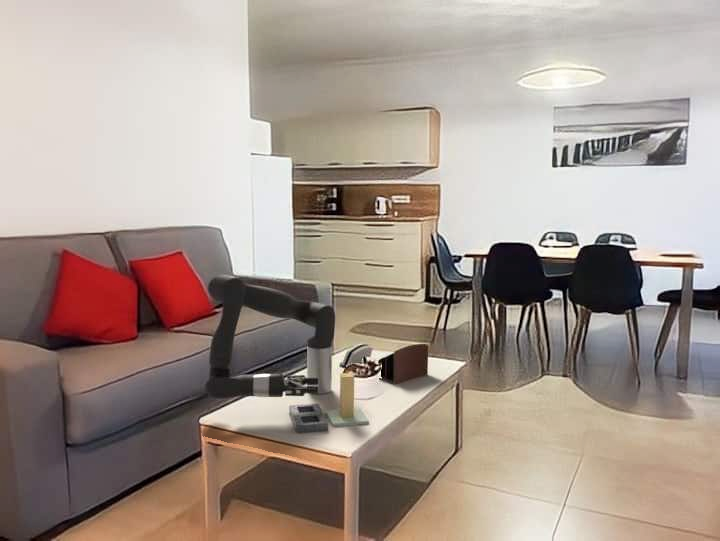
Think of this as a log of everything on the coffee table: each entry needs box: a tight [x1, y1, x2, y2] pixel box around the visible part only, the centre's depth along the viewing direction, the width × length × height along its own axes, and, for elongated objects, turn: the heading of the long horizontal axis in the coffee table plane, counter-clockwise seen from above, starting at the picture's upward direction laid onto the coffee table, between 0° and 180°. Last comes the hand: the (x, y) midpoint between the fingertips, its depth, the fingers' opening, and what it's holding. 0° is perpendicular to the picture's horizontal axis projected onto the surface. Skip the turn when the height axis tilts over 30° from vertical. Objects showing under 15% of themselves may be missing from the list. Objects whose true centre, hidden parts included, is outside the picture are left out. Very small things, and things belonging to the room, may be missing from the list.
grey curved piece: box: [338, 342, 373, 367], centre depth 270 cm, size 17×5×10 cm, turn 145°
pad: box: [325, 407, 370, 428], centre depth 206 cm, size 12×12×1 cm
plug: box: [339, 372, 355, 418], centre depth 205 cm, size 4×4×14 cm
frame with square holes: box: [288, 403, 329, 434], centre depth 203 cm, size 18×10×2 cm, turn 14°
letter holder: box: [377, 343, 429, 385], centre depth 252 cm, size 10×20×14 cm, turn 132°
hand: (318, 385), depth 204 cm, fingers open, 8 cm apart
